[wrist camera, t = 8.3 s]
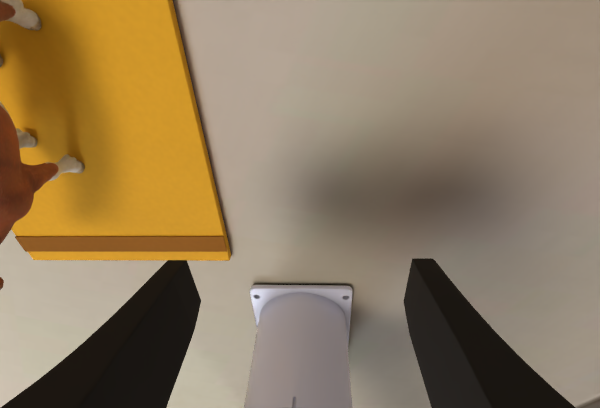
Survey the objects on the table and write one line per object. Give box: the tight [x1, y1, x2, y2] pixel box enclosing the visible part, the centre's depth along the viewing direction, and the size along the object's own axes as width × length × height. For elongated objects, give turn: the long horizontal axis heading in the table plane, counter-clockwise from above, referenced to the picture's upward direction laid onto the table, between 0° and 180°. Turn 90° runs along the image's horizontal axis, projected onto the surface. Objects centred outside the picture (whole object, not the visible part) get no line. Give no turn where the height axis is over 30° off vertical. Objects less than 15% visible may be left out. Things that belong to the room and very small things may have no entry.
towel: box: [0, 0, 231, 260], centre depth 18 cm, size 20×15×1 cm
